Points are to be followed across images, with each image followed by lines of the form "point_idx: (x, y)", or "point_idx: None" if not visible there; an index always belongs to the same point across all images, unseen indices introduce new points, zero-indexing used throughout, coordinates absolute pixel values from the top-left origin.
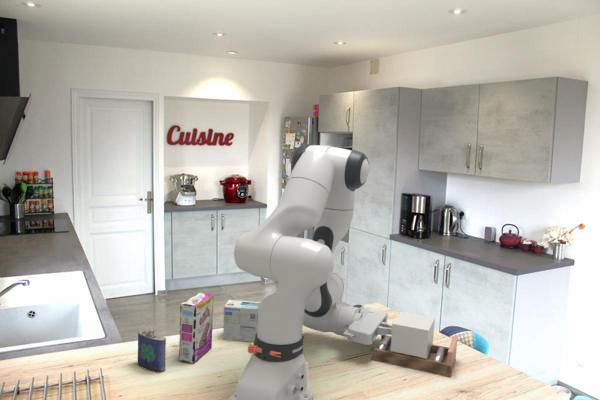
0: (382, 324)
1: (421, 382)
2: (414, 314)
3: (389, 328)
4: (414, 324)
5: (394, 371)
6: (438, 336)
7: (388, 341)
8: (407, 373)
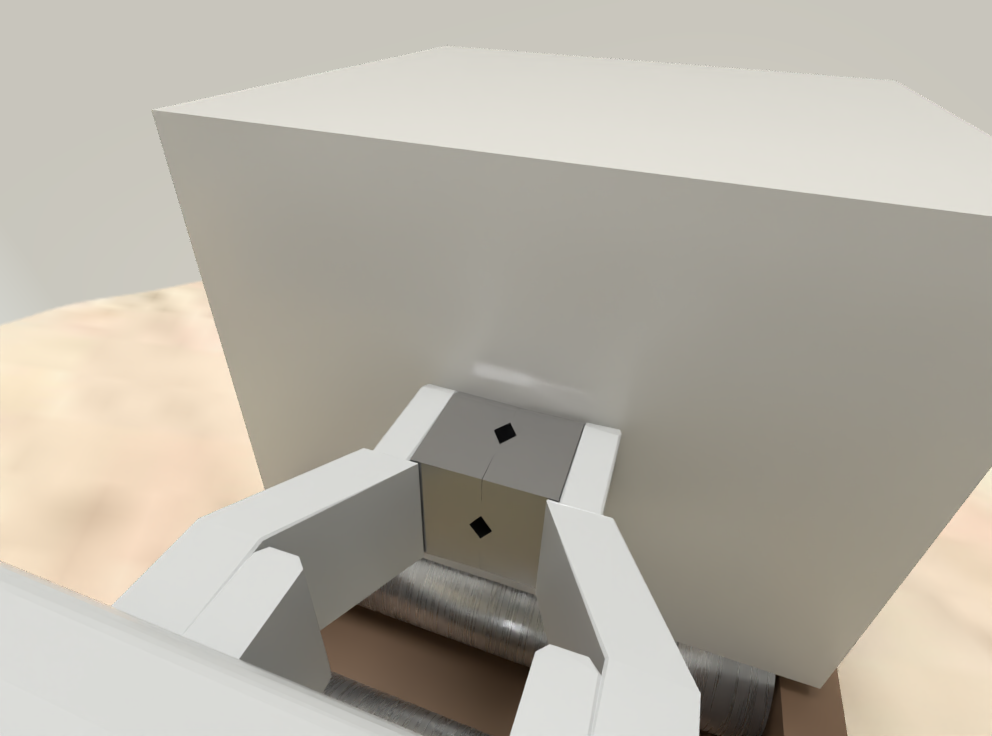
0: (266, 645)
1: (979, 508)
2: (344, 73)
3: (591, 495)
4: (788, 101)
5: (960, 731)
6: (132, 312)
7: (352, 682)
8: (896, 591)
